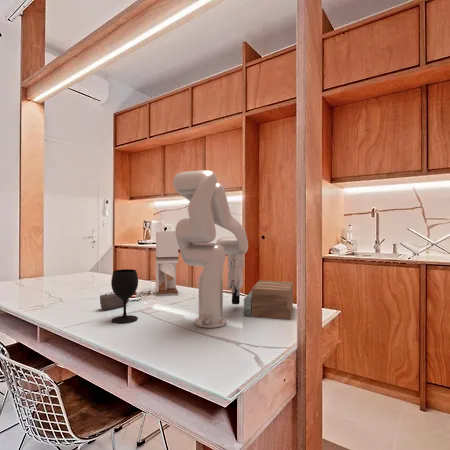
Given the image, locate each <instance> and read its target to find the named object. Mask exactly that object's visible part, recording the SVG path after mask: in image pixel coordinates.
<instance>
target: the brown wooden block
mask: <svg viewBox="0 0 450 450" xmlns="http://www.w3.org/2000/svg"><path fill="white" fill-rule="evenodd" d="M293 285H294V282H293V281H282V280H281V281H280V280H261V279H260V280H258V281H257V282H256V283H255V284H254V286H252V287H251V291H252V315H251V317H252V316H253V317H255V318H264V319H278V320H291V317H292V313H293V306H294V305H293V303H294V302H293V300H294V298H293V297H294V296H293V294H294V293H293V292H294V290H293V289H294V287H293Z"/></svg>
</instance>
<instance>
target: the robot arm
mask: <svg viewBox="0 0 450 450" xmlns="http://www.w3.org/2000/svg"><path fill="white" fill-rule="evenodd" d="M173 177H174V178H173V182H172V185H173V189H174V191H176V193H177V194H178V195H180V196H181V197H183V198H185V200H187V201H189V203H188V206H187V213H188V218H187V217H186V218H182V219H179V221H178V222H177V223H176V225H175V230H174V231H175V233H176V239H177V242H178V250H179V251H180V255H181V258H182V260H183V263H185V265H187V266H189V267H201V268H203V270H202V271H201V272H200V275H199V277H198V317H196V318H195V319H194V325H195V326H197V327H200V328H203V329H204V328H205V329H215V328H221V327H223V326H225V325H227V319H226V318H225V317H223V316H224V315H223V312H224V309H223V307H224V306H223V303H224V302H223V299H224V298H223V297H224V293H223V292H224V291H223V290H224V288H223V287H224V284H223V283H224V280H223V279H224V266H225V261H226V255H227V268H228V271H227V272H228V273H227V289H228V290H231V292H230V293H231V304H232V305H239V304H240V300H241V299H240V298H241V297H240V292H241V288H242V287H243V282H244V281H243V280H244V279H243V268H245V254H246V253H247V252H248V249H249V241H248V237H247V232H246V230H245V227H244V226H243V225H242V224H241V223H240V222H239V221H238V219H236V218H235V217H234V216H233V215H232V213H231V210H230V207H229V202H228V199H227V198H228V197H227V194H226V190H225V187H224V186H223V184H222V183H220V182H218V179H217V175H216V173H215V172H214V171H212V170H210V169H205V170H204V169H203V170H202V169H201V170H190V171H182V172H181V171H180V172H178V173H177V174H175V176H173ZM215 225H217V226H218V227H221V228H222V229H223V228H224V229H225V230H228V231H229V232H231V233H232V234H233V235H234V236H232V237H231V236H229V237H228V236H227V237H225V236H221V237H219V238H217V240H216V241H215V242H213V241H214V240H215V239H216V236H217V231H216V226H215Z"/></svg>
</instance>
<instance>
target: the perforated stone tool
mask: <svg viewBox="0 0 450 450" xmlns="http://www.w3.org/2000/svg"><path fill="white" fill-rule="evenodd" d="M129 301H130V298H129V299H128V300H127V302H126V305H127V304H128V303H129ZM99 304H100V308H101V310H102V311H105V310H106V311H107V310H114V309H117V308H121V307H124V306H123V300H122V299H120V298H119V297H118V296H116V295H115V293H110V294H102V295H99Z"/></svg>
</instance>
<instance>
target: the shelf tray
mask: <svg viewBox="0 0 450 450" xmlns="http://www.w3.org/2000/svg"><path fill="white" fill-rule="evenodd" d="M243 316H246V317H247V316H249V317H252V290H250V291H249V292H248V294H247V295H245V297H244V298H243Z"/></svg>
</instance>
